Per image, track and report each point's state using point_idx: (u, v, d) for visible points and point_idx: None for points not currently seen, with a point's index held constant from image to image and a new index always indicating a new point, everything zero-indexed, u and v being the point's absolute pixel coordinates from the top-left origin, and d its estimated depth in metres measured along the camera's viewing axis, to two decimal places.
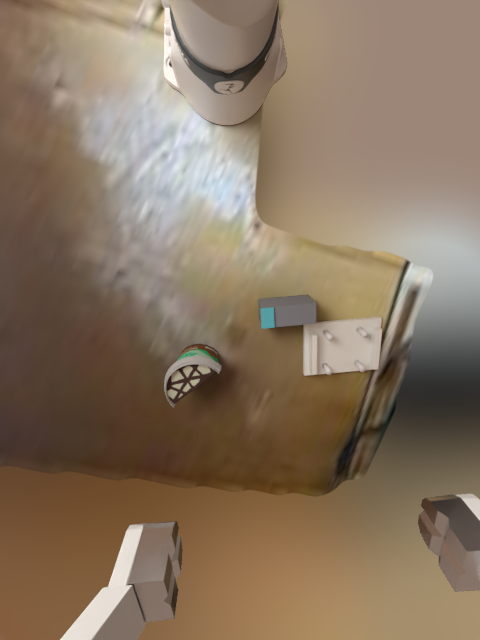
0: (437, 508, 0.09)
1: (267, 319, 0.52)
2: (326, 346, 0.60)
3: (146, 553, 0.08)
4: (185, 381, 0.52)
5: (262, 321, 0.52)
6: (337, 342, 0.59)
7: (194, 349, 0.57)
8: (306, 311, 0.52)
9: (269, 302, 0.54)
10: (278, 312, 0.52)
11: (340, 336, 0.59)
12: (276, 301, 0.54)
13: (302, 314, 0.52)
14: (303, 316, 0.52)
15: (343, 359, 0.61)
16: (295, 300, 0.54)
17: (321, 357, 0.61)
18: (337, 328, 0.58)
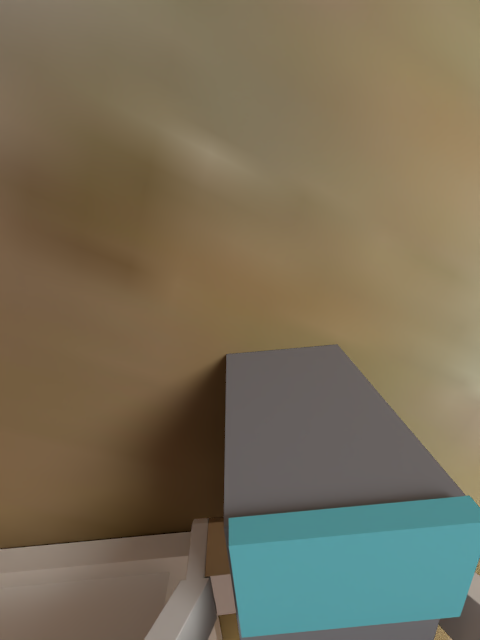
0: None
1: (343, 583, 0.04)
2: None
3: (217, 546, 0.08)
4: None
5: (325, 546, 0.04)
6: None
7: None
8: None
9: None
10: None
11: None
12: None
13: None
14: None
15: None
16: None
17: None
18: None
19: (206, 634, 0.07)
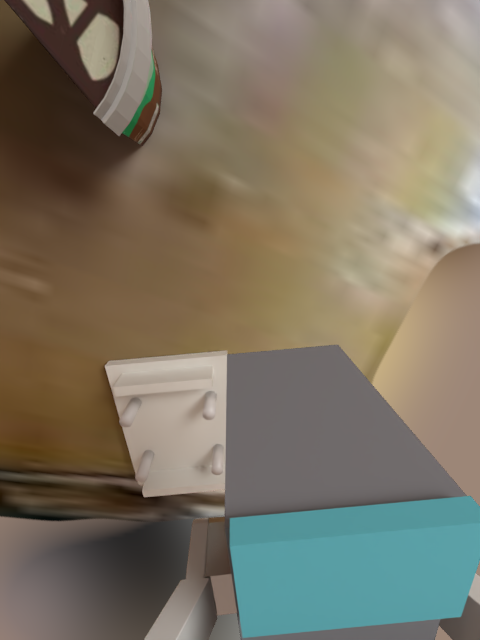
0: None
1: (344, 583, 0.04)
2: (179, 399, 0.29)
3: (217, 546, 0.08)
4: None
5: (326, 546, 0.04)
6: (189, 418, 0.30)
7: (152, 55, 0.18)
8: None
9: None
10: None
11: (202, 421, 0.30)
12: None
13: None
14: None
15: (153, 432, 0.31)
16: None
17: (153, 394, 0.29)
18: (219, 414, 0.30)
19: (206, 634, 0.07)
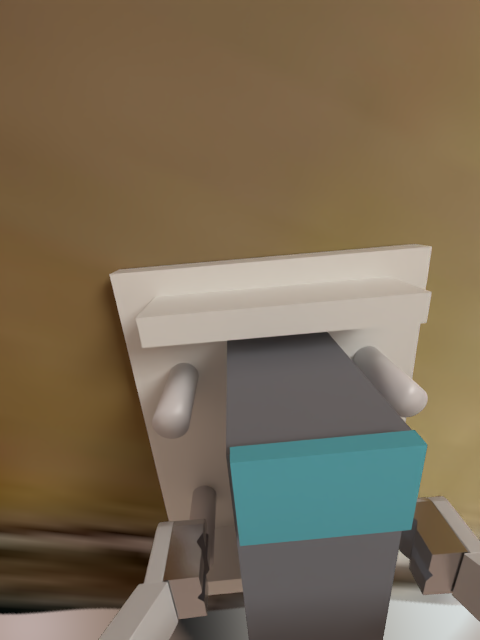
0: None
1: (317, 497, 0.06)
2: None
3: (178, 550, 0.08)
4: None
5: (303, 464, 0.05)
6: None
7: None
8: None
9: None
10: (353, 540, 0.07)
11: None
12: None
13: None
14: None
15: (218, 447, 0.13)
16: None
17: None
18: None
19: (165, 638, 0.07)
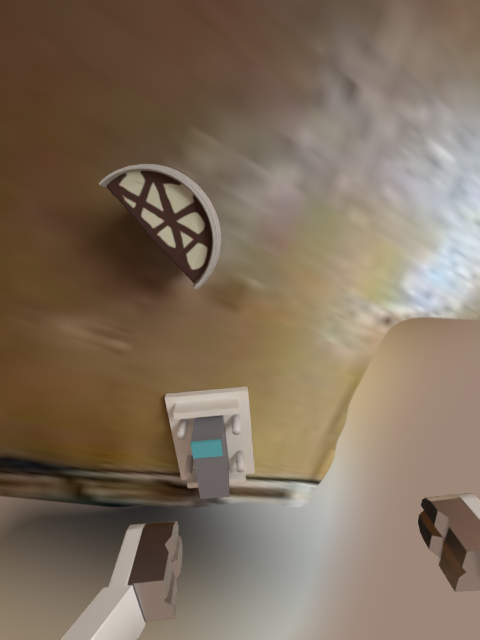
0: (437, 508, 0.09)
1: (205, 449, 0.36)
2: None
3: (146, 553, 0.08)
4: (167, 215, 0.25)
5: (201, 444, 0.36)
6: None
7: None
8: (217, 487, 0.39)
9: (223, 435, 0.39)
10: (215, 459, 0.37)
11: (229, 434, 0.43)
12: (224, 442, 0.40)
13: (213, 484, 0.39)
14: (210, 485, 0.39)
15: None
16: None
17: None
18: (241, 430, 0.43)
19: None
